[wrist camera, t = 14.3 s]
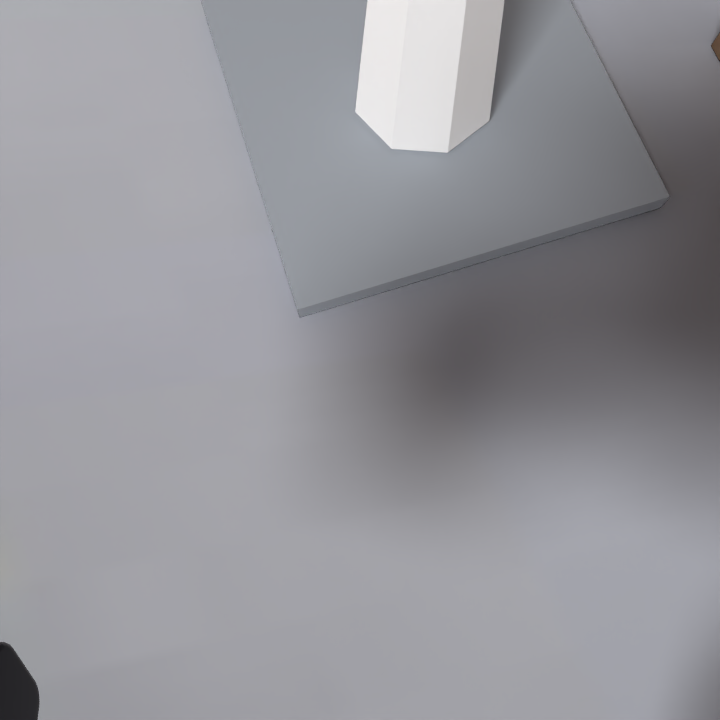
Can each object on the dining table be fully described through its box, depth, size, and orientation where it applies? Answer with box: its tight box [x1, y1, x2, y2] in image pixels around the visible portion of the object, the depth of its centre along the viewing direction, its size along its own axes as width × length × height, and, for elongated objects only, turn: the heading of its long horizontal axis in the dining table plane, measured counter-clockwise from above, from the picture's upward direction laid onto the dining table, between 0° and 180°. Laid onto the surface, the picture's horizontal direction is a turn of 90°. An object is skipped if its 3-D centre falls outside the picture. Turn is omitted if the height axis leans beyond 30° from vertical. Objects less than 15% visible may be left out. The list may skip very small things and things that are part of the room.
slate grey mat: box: [201, 0, 670, 317], centre depth 25 cm, size 14×14×1 cm
